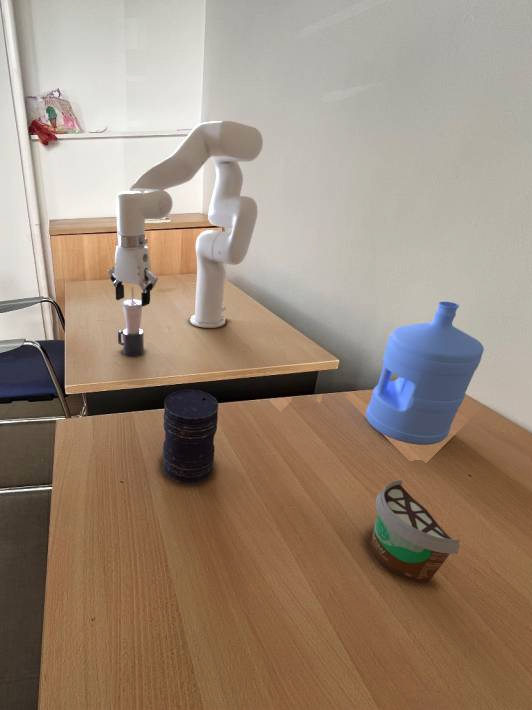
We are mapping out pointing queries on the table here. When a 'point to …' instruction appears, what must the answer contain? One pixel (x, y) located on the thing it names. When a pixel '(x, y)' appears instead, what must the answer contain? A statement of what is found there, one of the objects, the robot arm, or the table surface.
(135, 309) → the smoothie
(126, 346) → the mug
